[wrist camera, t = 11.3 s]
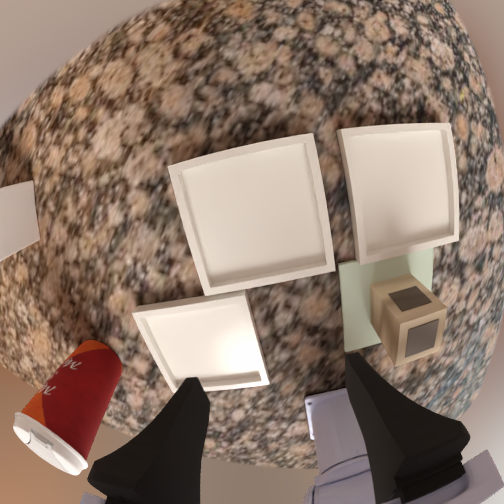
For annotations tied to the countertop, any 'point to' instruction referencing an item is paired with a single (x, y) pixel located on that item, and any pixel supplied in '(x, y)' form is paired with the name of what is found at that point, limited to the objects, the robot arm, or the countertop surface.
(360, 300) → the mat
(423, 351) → the letter block
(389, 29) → the countertop surface
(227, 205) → the dish
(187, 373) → the dish
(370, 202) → the dish
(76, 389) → the paper cup
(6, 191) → the milk
